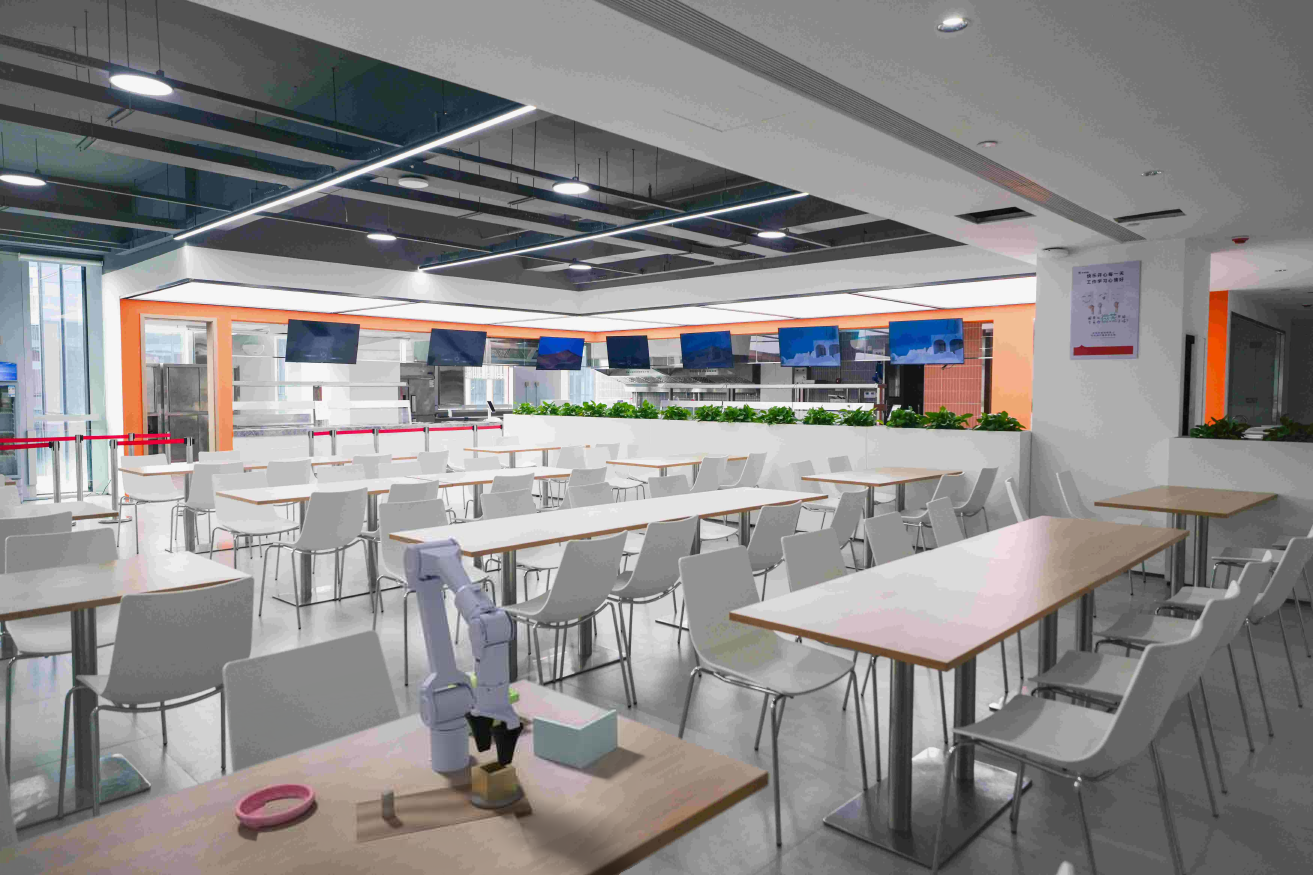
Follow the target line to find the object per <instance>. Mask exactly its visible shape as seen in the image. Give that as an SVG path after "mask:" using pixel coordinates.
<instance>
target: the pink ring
mask: <svg viewBox="0 0 1313 875" xmlns="http://www.w3.org/2000/svg"><path fill="white" fill-rule="evenodd" d="M280 798H281V799H283V798H297V799H300V800H303V801H304V802H302V803H301V804H299V805H297V806H295V807H293V808H290V809H288V810H285V811H282V812H279V813H274V814H270V815H268V814H267V815H264V810H265V807H266V802H267V801H271V800H274V799H280ZM315 798H316V792H315V789H314V788H313V786H310V785H308V784H306V783H301V782H300V783H299V782H298V783H297V782H291V783H290V782H289V783H287V782H286V783H280V784H279V783H278V784H275V785H271V786H267V787H264V788H260V789H258V790H256V791H253V792H252V793H250V794H248V795H246V796H245V797H243V798H242V799H240V800H239V802H238V803H237V804H236V806H235V809H234V814H235V817H236V819H237V820H238V821H239V822H241V823H242V824H243V825H245V826H246V827H248V828H249V829H252V830H255V829H256V831H259V830H260V828H261V827H268V826H269V827H270V826H275V825H279V824H283V823H286V822H289V821H291V820H295V819H296V818H298V817H299V816H301V815H302V814H304V813H305V812H307V811H308V810H309V809H310V808H311V806H312V804H313V802H314V801H315Z"/></svg>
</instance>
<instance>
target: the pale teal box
mask: <svg viewBox="0 0 1313 875" xmlns="http://www.w3.org/2000/svg"><path fill="white" fill-rule="evenodd" d="M532 733H533V736H532V737H533V738H532V739H533V756H535V757H539V758H543V759H547V760H550V761H553V762H557V763H561V764H563V765H567V766H570V767H573V768H577V769H582V768H584V767H586V766H588V765H589V764H591V763H592V762H595V761H596V760H598V759H599V758H601V757H602V756H604V755H606V754H608V753H610V752H611V751H613V750H615V749H616V748H618V747H619V745H618V743H619V741H618V740H619V737H618V734H619V733H618V709H611V710H610V711H609V710H608V711H607V712H606V713H604V714H603V715H600V716H598V717H596V718H594V719H593V720H590V721H589V722H587V723H585V724H583V725H581V726H580V727H579V726H575V725H571V724H568V723H565V722H560V721H556V720H553V719H549V718H545V717H540V716H534V717H532Z"/></svg>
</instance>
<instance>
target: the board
mask: <svg viewBox="0 0 1313 875" xmlns="http://www.w3.org/2000/svg"><path fill="white" fill-rule="evenodd" d="M494 772H496V771H494ZM492 773H493V772H492ZM380 796H381V798H380V799H375V800H370V801H369V800H368V801H363V802H356V844H360V843H365V842H368V841H369V842H370V841H375V840H381V839H385V838H386V839H387V838H391V837H395V836H401V835H406V834H413V833H417V832H422V831H428V830H432V829H436V828H442V827H448V826H452V825H459V824H464V823H469V822H474V821H481V820H485V819H488V818H489V819H490V818H495V817H500V816H507V815H510V814H514V815H515V817H516V818H517V819H520V818H524V817H527V816H528V817H529V816H533V808H532V805H531V804H530V801H529V799H528V797H527V794H526V792H525V790H524V788H523V785H522V783H521V781H520V779H519V777H518V775H517V774H516V793H515V794H512V795H509V796H507V797H504V798H501V799H499V800H496V801H493V802H490V803H486V802H485V801H483V800H482V799H481V798H479V797H478V796H477V795H475V794H474V793H472V782H471V783H464V784H460V785H458V784H457V785H453V786H447V787H442V788H437V789H430V790H425V791H419V792H413V793H407V794H403V795H396V796H395V792H394V790H392V789H388V790H384V791H382V792H381V793H380Z"/></svg>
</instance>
